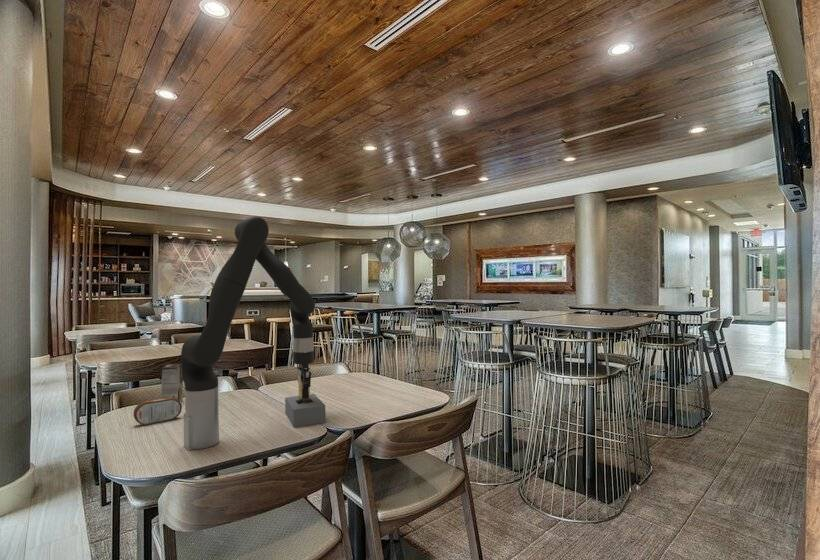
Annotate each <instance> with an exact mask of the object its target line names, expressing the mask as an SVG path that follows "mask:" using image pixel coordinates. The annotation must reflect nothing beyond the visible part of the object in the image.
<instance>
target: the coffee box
mask: <svg viewBox="0 0 820 560" xmlns="http://www.w3.org/2000/svg"><path fill="white" fill-rule="evenodd" d="M160 370H161V371H160V372H161V373H160V374H161V376H160V377H161V379H160V381H161V398H166V397H175V398H177V399H178V400H179V401H180V402H181V401H182V400H184V395H183V394H184V391H183V390H184V386H183V385H184V384H183V383H184V381H183V378H182V365H181V363H168V364H165V365H164V366H162V367H161V368H160ZM182 402H183V401H182ZM182 402H181V403H182Z"/></svg>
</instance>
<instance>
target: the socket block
mask: <svg viewBox="0 0 820 560" xmlns="http://www.w3.org/2000/svg"><path fill="white" fill-rule="evenodd" d="M284 409H285V410H284V412H285V413H284V414H285V416H286V417H287V419H288V420H289V421H290V425H292V427H293V428H298V427H305V426H312V425H317V424H323V423H326V420H327V418H326V415H327V414H326V404H325V403H324V402H323V401H322V400H321V399H320V398H319V397H318V396H317V395H316V393H310V403H303V404H299V395H295V396H288V397H284Z"/></svg>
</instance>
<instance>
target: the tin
mask: <svg viewBox="0 0 820 560" xmlns="http://www.w3.org/2000/svg"><path fill="white" fill-rule="evenodd" d="M182 409H183V405H182V402H181V403H180V401H179V400H178V399H177V398H175V397H166V398H162V397H160V398H153V399H152V398H151V399H147V400H143V401H141V402H140V403H138V404H137V405H136V407H135V408H134V410H133V418H134V420H135V422H137V423H138V424H140V425H142V426H144V425H145V426H148V425H154V424H159V423H164V422H170V421H174V420H176V418H177V417H178V416H179V415H180V414H181V413H182Z"/></svg>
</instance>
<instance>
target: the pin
mask: <svg viewBox="0 0 820 560" xmlns="http://www.w3.org/2000/svg"><path fill="white" fill-rule="evenodd" d="M302 379H303V378H302ZM297 382H298V396H299V404H303V403H310V394H311V386H310V387H309V398H306V399H303V398H302V382H300V375H299V376H298V375H297ZM305 384H307V382H305Z"/></svg>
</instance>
